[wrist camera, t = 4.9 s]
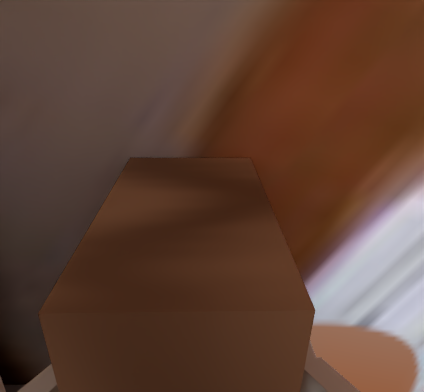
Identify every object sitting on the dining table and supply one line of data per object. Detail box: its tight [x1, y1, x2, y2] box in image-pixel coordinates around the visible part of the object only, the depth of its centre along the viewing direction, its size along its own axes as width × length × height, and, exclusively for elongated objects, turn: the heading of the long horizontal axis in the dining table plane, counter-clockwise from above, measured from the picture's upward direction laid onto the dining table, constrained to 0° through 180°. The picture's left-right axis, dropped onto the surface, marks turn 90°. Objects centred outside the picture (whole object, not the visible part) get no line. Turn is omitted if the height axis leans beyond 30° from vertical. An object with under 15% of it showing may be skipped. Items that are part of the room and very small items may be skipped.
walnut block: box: [38, 158, 315, 392], centre depth 10 cm, size 4×10×7 cm, turn 179°
